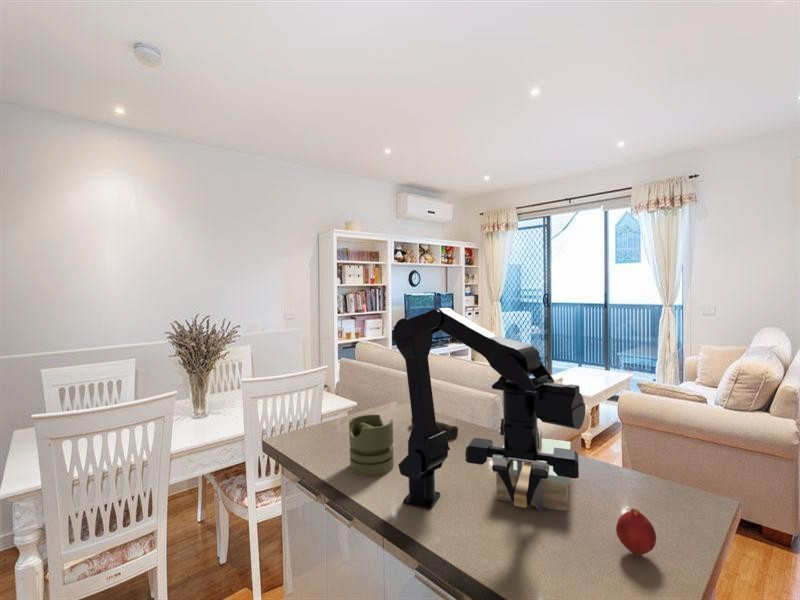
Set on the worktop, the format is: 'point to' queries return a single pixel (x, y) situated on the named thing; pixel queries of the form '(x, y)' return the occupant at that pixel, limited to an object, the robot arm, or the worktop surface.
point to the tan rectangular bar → (522, 486)
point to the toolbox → (551, 494)
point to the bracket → (538, 489)
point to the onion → (636, 532)
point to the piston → (371, 446)
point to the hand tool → (447, 429)
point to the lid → (548, 447)
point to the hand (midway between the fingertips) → (521, 504)
